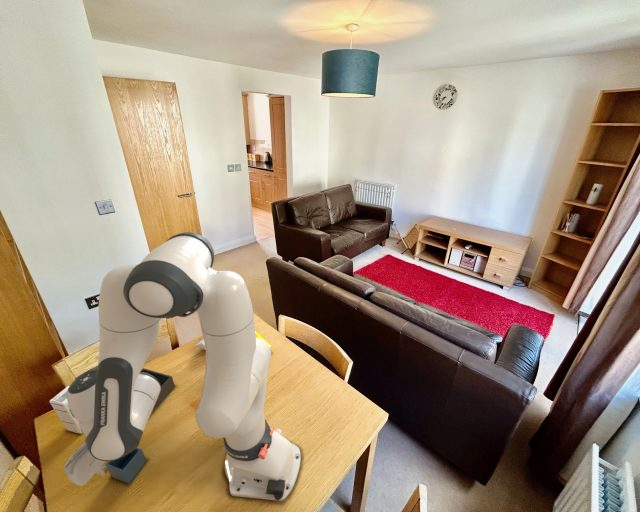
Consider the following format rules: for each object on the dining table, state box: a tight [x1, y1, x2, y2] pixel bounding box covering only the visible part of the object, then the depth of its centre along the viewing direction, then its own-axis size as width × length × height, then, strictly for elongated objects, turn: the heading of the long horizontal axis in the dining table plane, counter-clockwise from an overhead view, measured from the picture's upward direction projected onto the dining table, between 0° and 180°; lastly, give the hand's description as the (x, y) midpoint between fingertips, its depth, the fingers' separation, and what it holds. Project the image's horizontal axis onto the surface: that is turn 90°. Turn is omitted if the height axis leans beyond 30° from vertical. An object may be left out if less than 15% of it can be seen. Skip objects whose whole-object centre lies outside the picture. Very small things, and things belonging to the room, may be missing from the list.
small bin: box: [105, 447, 147, 485], centre depth 78 cm, size 6×6×6 cm
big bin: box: [140, 367, 176, 414], centre depth 98 cm, size 13×13×6 cm
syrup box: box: [49, 385, 83, 435], centre depth 87 cm, size 6×6×14 cm
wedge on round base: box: [194, 338, 206, 351], centre depth 122 cm, size 9×7×13 cm
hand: (120, 453), depth 76 cm, fingers open, 8 cm apart
